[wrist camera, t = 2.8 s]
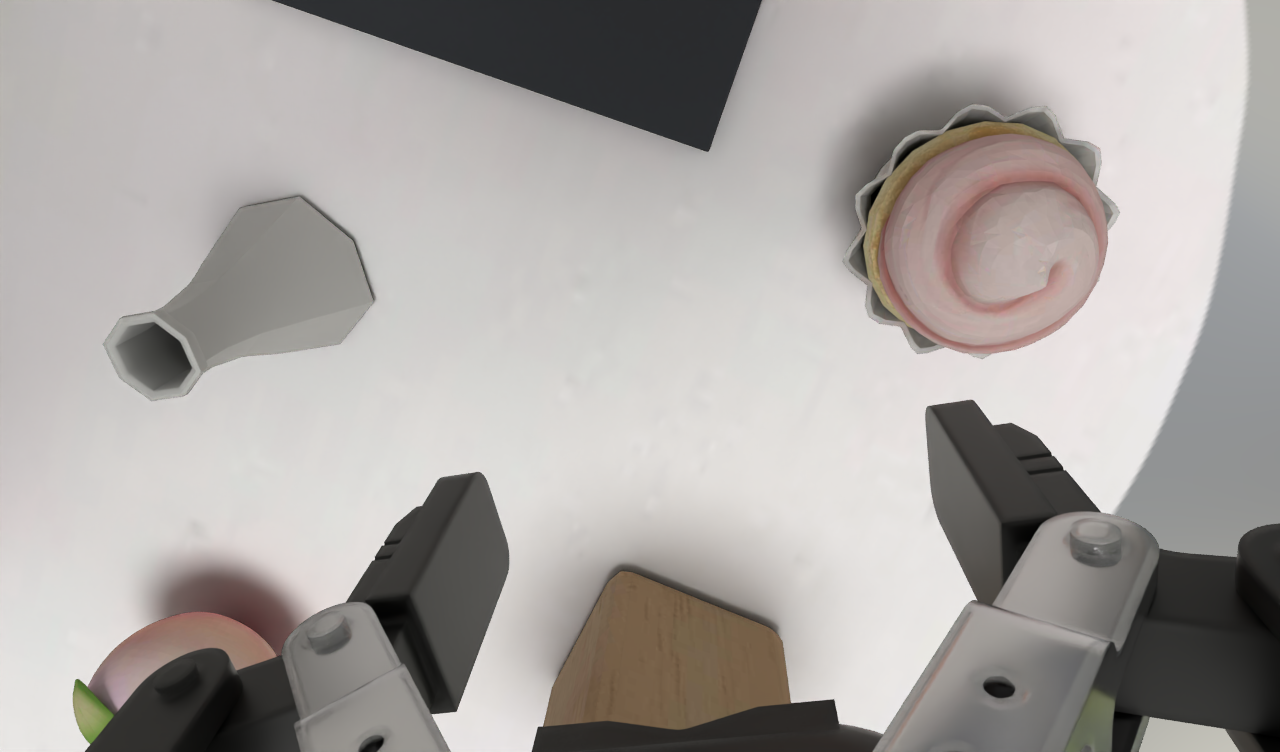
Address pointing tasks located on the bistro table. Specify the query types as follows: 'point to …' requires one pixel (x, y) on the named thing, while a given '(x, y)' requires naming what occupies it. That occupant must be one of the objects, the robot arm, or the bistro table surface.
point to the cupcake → (982, 232)
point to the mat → (580, 50)
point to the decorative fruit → (160, 661)
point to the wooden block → (666, 661)
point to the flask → (247, 301)
